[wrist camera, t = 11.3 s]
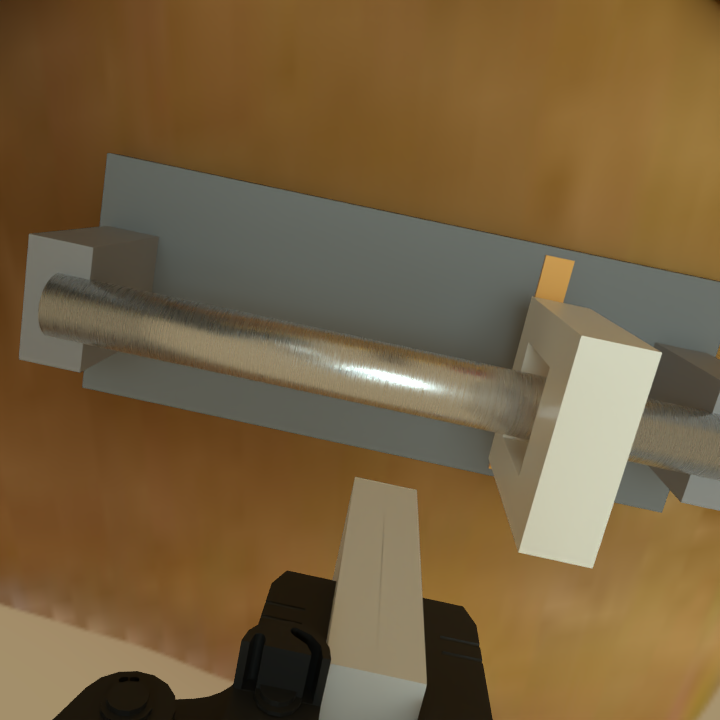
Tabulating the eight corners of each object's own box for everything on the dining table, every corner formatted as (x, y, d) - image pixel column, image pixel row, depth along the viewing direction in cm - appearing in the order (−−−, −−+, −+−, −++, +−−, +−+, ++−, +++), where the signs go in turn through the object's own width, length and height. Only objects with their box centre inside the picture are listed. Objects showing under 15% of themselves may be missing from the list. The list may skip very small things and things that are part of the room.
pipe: (68, 331, 34) (34, 345, 30) (74, 267, 33) (40, 274, 30) (707, 468, 33) (738, 496, 30) (729, 407, 32) (763, 429, 29)
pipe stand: (93, 380, 43) (2, 434, 33) (118, 154, 40) (25, 141, 30) (653, 501, 43) (726, 592, 33) (727, 283, 39) (833, 311, 29)
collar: (488, 458, 37) (518, 552, 27) (532, 296, 35) (581, 335, 25) (542, 469, 37) (592, 568, 27) (589, 308, 35) (662, 352, 25)
